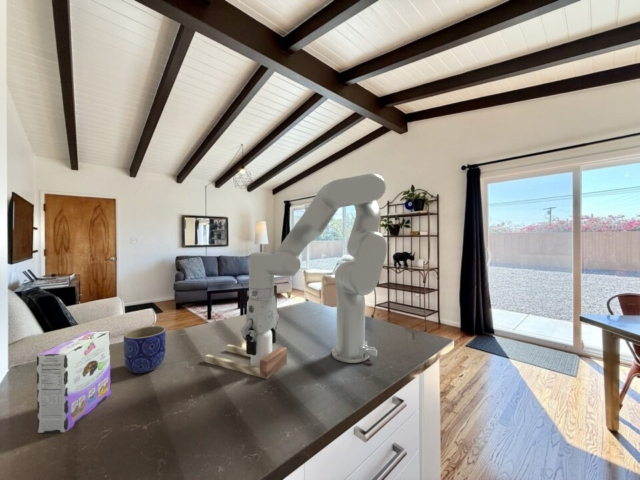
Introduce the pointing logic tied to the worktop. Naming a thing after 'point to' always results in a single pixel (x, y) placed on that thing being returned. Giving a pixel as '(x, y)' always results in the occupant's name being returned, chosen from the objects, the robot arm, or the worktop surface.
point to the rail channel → (266, 369)
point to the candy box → (72, 380)
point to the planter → (144, 348)
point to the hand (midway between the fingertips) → (261, 348)
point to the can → (262, 347)
